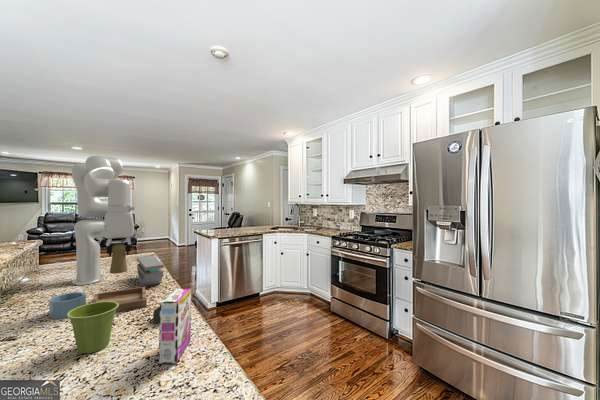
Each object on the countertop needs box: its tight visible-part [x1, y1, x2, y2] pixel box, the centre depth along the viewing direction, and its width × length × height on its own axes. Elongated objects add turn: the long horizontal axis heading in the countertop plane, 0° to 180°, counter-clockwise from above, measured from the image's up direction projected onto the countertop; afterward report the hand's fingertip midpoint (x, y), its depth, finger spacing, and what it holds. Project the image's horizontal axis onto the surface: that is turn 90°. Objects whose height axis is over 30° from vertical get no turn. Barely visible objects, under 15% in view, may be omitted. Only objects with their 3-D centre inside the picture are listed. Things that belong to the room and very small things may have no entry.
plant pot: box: [67, 301, 119, 354], centre depth 76 cm, size 12×12×11 cm
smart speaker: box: [152, 306, 160, 325], centre depth 95 cm, size 9×9×4 cm
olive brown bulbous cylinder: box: [109, 243, 128, 275], centre depth 107 cm, size 6×6×11 cm
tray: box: [91, 286, 147, 314], centre depth 107 cm, size 18×18×3 cm
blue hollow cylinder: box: [48, 291, 87, 320], centre depth 99 cm, size 10×10×6 cm
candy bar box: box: [158, 288, 192, 365], centre depth 74 cm, size 11×5×16 cm, turn 5°
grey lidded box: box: [136, 255, 165, 287], centre depth 135 cm, size 25×8×11 cm, turn 39°
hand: (118, 254), depth 107 cm, fingers closed on olive brown bulbous cylinder, 5 cm apart
